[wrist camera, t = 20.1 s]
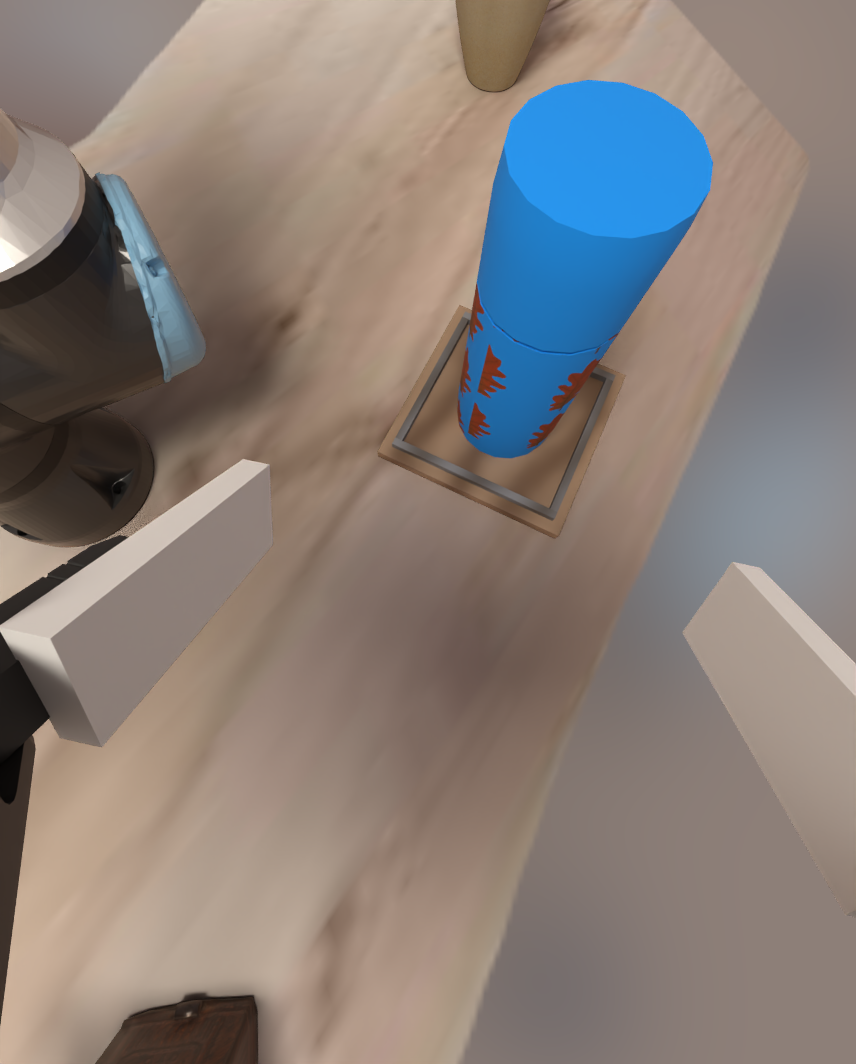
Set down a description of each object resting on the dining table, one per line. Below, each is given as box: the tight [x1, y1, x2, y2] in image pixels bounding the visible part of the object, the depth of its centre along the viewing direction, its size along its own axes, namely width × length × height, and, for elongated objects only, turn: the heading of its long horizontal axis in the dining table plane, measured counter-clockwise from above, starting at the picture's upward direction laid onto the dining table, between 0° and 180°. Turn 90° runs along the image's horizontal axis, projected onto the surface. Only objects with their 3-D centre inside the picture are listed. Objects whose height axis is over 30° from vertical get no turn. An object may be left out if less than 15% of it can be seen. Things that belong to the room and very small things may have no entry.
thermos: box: [457, 80, 713, 458], centre depth 32 cm, size 11×11×25 cm
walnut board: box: [377, 305, 626, 538], centre depth 44 cm, size 21×21×2 cm
